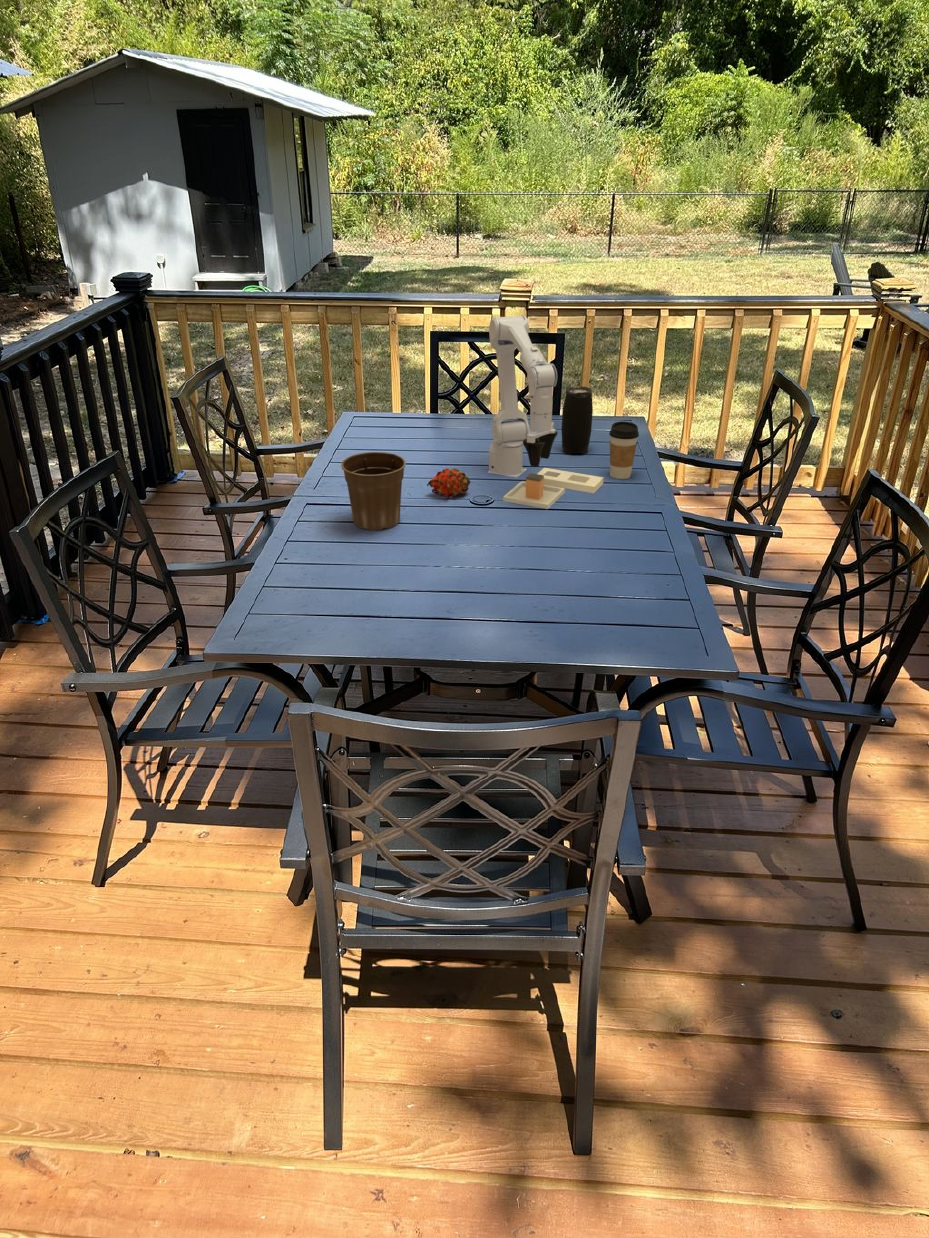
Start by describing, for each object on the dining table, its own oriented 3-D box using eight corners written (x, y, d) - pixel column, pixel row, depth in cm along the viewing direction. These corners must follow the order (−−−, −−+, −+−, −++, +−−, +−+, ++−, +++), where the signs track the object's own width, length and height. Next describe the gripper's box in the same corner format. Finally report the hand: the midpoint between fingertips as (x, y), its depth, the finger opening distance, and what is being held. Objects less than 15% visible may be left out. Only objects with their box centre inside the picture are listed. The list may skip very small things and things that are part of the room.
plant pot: (398, 537, 227) (396, 476, 219) (336, 531, 230) (332, 471, 222) (414, 512, 241) (412, 454, 233) (356, 507, 243) (352, 449, 235)
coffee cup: (633, 471, 267) (638, 421, 260) (635, 481, 260) (640, 430, 253) (605, 470, 268) (609, 420, 261) (606, 480, 261) (610, 429, 253)
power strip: (533, 484, 258) (534, 476, 256) (543, 475, 264) (544, 467, 263) (593, 495, 251) (594, 486, 250) (602, 485, 257) (603, 477, 256)
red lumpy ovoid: (473, 502, 250) (431, 508, 252) (471, 476, 254) (429, 482, 255) (469, 486, 243) (425, 491, 244) (467, 459, 246) (424, 465, 247)
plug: (525, 497, 248) (526, 476, 245) (529, 493, 250) (530, 473, 247) (539, 499, 247) (539, 479, 244) (543, 496, 249) (544, 475, 246)
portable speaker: (554, 451, 282) (558, 389, 273) (575, 445, 288) (579, 383, 278) (575, 458, 277) (578, 395, 267) (595, 451, 282) (600, 389, 272)
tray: (503, 502, 246) (503, 496, 245) (521, 487, 256) (521, 481, 255) (547, 511, 241) (547, 504, 240) (564, 494, 251) (565, 488, 250)
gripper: (545, 420, 229) (544, 471, 236) (565, 407, 241) (563, 456, 247) (519, 417, 232) (518, 468, 238) (540, 404, 244) (539, 453, 250)
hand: (539, 462), depth 243 cm, fingers open, 7 cm apart
